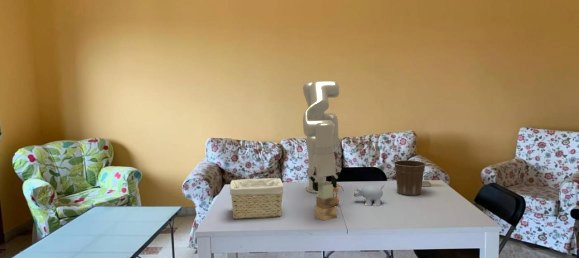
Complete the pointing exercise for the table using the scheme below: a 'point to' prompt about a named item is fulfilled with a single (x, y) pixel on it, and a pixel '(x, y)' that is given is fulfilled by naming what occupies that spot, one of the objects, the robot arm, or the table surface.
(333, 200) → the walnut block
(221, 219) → the table surface
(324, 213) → the oak block
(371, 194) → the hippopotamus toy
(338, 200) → the figurine
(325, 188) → the sage block
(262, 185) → the storage basket
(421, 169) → the plant pot
